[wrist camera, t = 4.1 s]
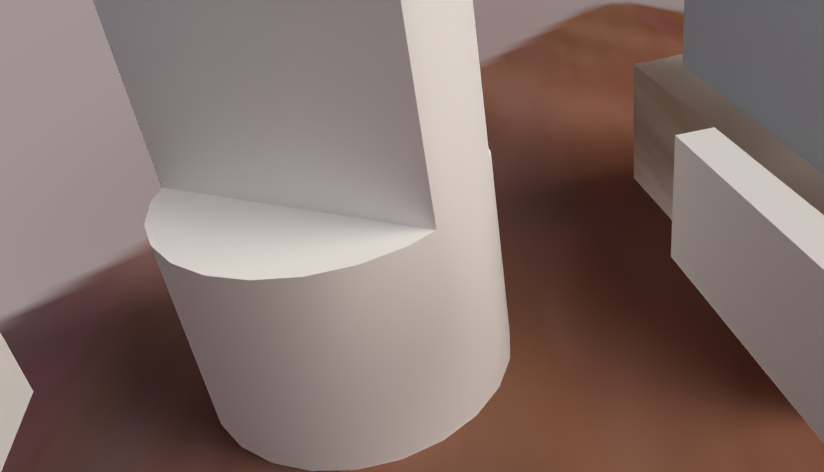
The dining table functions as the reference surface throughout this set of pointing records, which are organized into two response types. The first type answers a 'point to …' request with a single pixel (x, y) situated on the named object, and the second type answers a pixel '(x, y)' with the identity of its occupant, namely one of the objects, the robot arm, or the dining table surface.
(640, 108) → the base block
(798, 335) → the robot arm
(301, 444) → the cylinder with rectangular tab
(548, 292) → the dining table surface
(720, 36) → the grey flat square block
